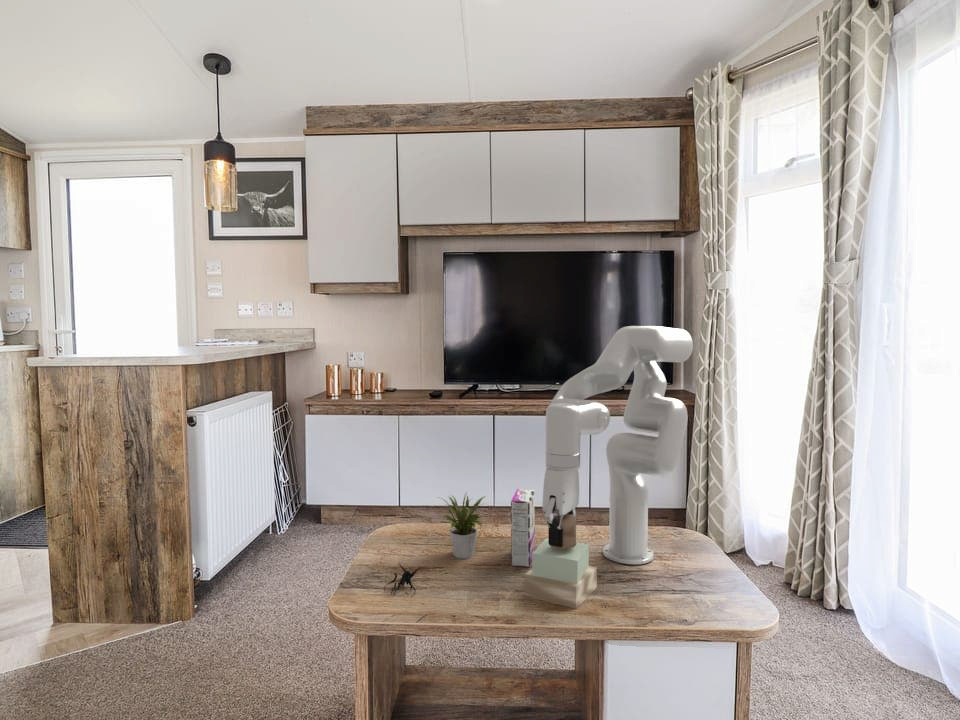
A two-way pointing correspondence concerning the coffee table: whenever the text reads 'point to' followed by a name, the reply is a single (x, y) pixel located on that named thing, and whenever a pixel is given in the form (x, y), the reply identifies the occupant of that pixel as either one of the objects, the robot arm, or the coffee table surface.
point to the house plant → (463, 528)
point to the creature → (403, 579)
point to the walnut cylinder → (568, 531)
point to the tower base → (561, 588)
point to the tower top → (560, 562)
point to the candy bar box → (522, 527)
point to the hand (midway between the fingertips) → (562, 540)
